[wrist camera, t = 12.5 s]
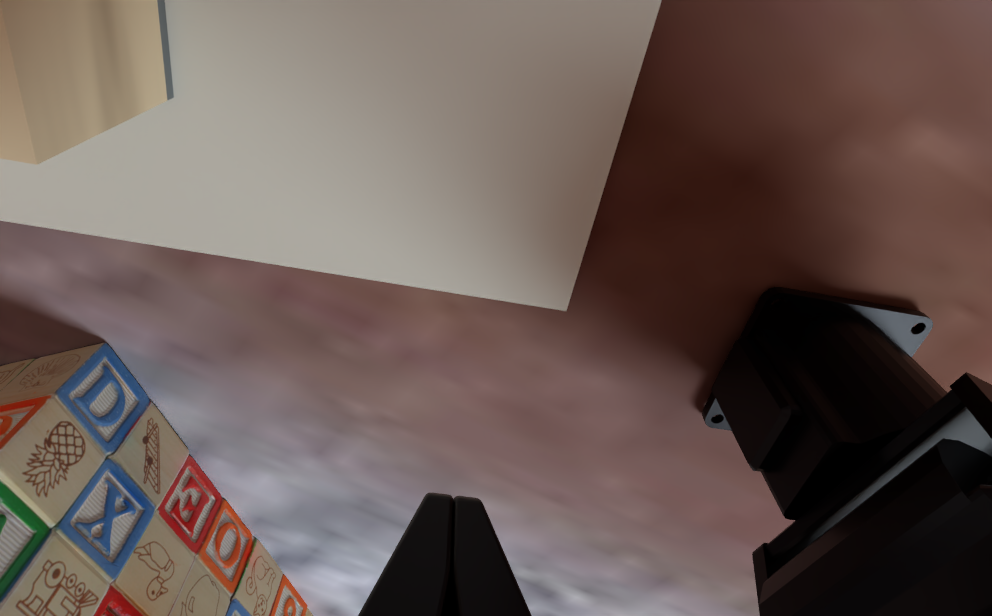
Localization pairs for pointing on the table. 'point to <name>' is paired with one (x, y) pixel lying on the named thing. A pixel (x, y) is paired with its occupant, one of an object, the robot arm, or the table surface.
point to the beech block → (77, 71)
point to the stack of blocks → (115, 505)
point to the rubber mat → (367, 141)
